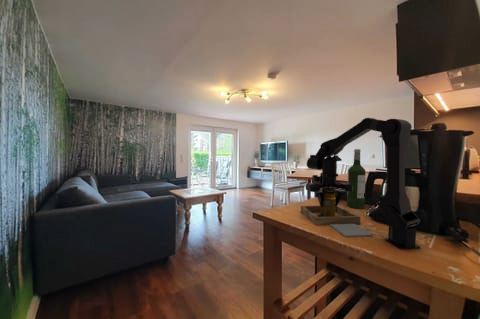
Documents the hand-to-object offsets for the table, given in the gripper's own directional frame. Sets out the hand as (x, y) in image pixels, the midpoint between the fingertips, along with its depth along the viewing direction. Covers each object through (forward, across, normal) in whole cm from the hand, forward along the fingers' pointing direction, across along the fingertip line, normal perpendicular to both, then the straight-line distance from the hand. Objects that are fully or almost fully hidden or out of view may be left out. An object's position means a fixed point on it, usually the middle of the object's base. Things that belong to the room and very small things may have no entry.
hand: (328, 206), depth 87 cm
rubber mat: (+5, -1, +14) cm, 15 cm away
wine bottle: (+5, -23, -15) cm, 28 cm away
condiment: (+5, +1, 0) cm, 5 cm away
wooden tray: (+5, 0, 0) cm, 5 cm away
